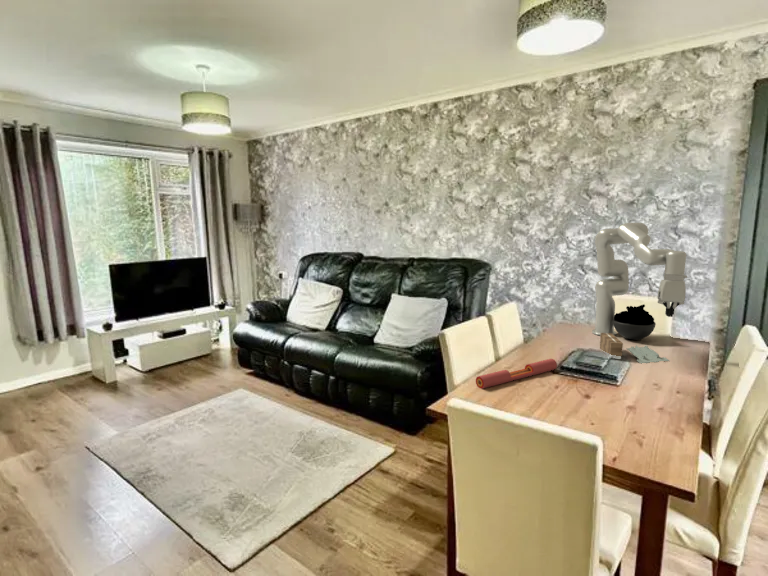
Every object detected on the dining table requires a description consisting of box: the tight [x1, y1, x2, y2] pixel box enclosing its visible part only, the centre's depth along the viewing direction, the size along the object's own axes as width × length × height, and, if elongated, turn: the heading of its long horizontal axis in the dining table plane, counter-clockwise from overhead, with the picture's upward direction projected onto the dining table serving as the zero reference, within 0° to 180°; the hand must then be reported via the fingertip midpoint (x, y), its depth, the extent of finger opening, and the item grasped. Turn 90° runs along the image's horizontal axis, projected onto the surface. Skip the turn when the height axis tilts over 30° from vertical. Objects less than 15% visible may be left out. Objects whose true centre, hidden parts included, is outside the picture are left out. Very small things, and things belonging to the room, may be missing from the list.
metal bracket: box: [626, 344, 670, 365], centre depth 197 cm, size 14×6×15 cm
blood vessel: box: [475, 358, 558, 390], centre depth 176 cm, size 42×5×5 cm, turn 118°
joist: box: [599, 333, 624, 357], centre depth 204 cm, size 18×5×8 cm, turn 167°
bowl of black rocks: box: [613, 303, 657, 341], centre depth 227 cm, size 20×20×19 cm
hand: (669, 316), depth 197 cm, fingers closed
